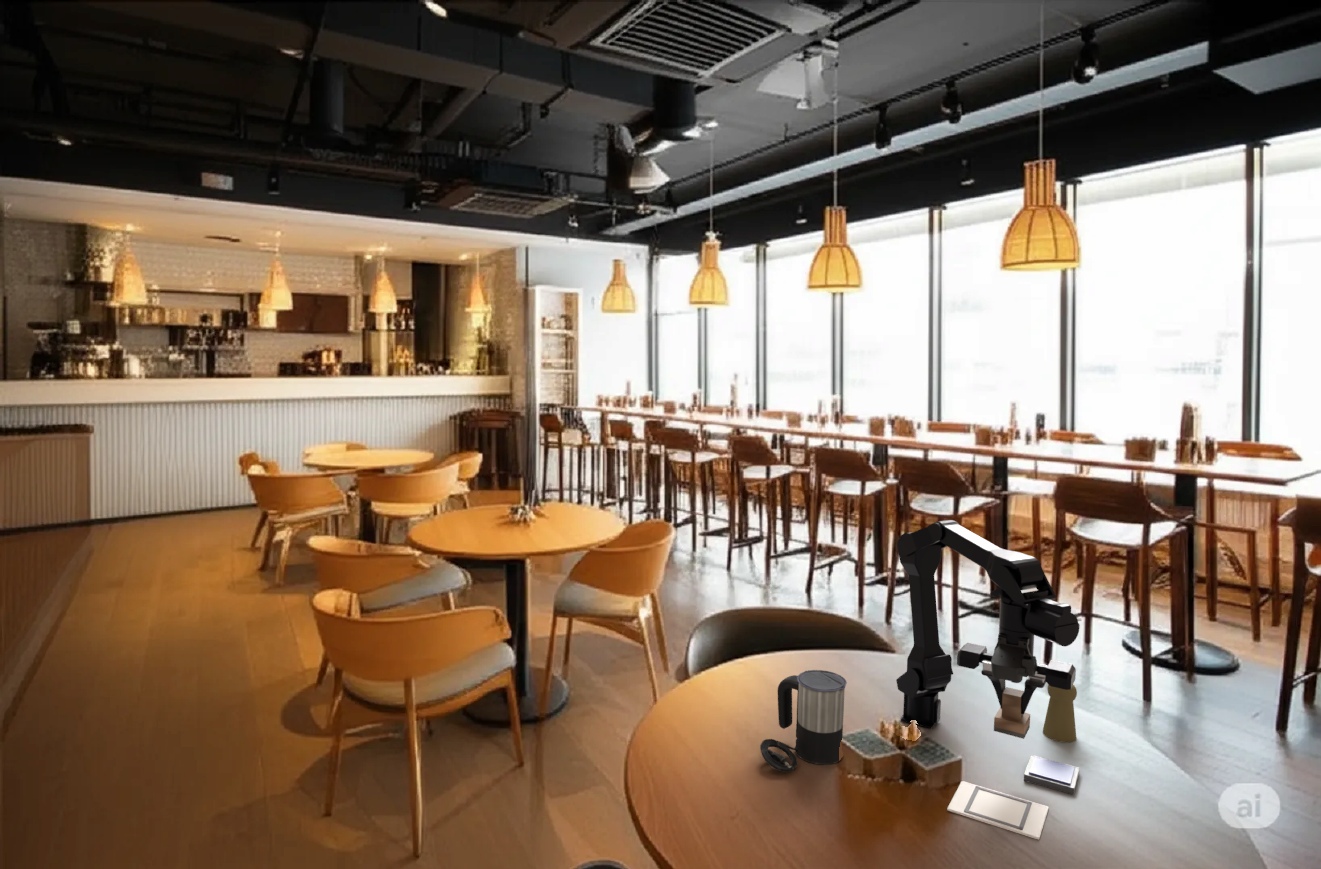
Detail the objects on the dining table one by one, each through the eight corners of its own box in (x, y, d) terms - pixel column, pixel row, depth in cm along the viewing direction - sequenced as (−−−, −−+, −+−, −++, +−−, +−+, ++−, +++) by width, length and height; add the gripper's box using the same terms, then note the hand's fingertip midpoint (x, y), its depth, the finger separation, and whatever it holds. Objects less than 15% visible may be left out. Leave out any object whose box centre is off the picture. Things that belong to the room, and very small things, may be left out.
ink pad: (1023, 780, 139) (1024, 772, 139) (1031, 760, 146) (1031, 753, 146) (1073, 794, 135) (1074, 786, 135) (1079, 773, 142) (1079, 766, 141)
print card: (947, 810, 130) (947, 807, 130) (961, 782, 139) (961, 779, 139) (1039, 839, 123) (1039, 836, 123) (1048, 808, 131) (1048, 805, 131)
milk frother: (849, 747, 151) (851, 674, 149) (830, 788, 137) (832, 708, 135) (778, 732, 157) (779, 661, 155) (753, 770, 143) (754, 693, 141)
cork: (1080, 743, 152) (1084, 690, 151) (1047, 740, 153) (1050, 687, 152) (1070, 728, 158) (1074, 677, 157) (1039, 726, 159) (1041, 674, 158)
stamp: (993, 730, 140) (995, 693, 139) (1000, 720, 144) (1001, 683, 143) (1023, 738, 137) (1025, 700, 136) (1029, 727, 141) (1031, 690, 140)
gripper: (949, 629, 137) (946, 713, 139) (1068, 652, 126) (1063, 744, 128) (966, 612, 146) (963, 691, 148) (1078, 632, 135) (1073, 718, 137)
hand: (1012, 710), depth 140 cm, fingers closed on stamp, 3 cm apart
